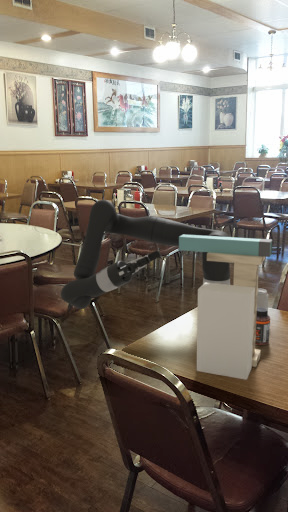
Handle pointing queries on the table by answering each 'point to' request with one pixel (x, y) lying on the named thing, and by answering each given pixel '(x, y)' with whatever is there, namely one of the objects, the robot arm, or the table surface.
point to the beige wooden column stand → (244, 282)
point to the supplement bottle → (262, 326)
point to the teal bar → (226, 245)
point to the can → (262, 298)
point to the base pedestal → (225, 329)
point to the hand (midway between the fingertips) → (154, 255)
